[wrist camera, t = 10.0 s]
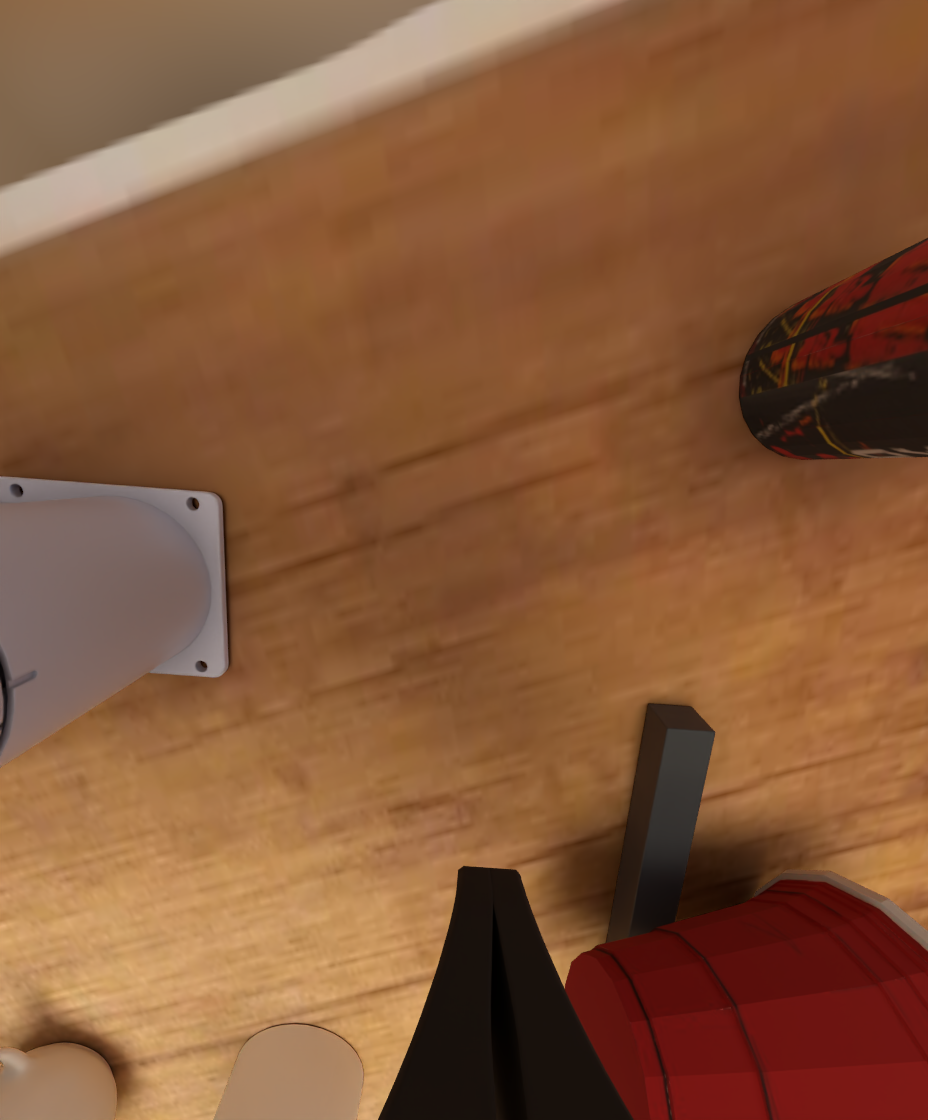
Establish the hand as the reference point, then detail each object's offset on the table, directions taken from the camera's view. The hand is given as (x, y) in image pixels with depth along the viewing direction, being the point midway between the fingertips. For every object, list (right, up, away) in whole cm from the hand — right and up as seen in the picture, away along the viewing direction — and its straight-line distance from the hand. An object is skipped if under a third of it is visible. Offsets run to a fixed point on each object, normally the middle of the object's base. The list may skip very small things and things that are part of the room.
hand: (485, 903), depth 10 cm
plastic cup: (+4, -9, +5) cm, 11 cm away
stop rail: (+8, -7, +12) cm, 16 cm away
